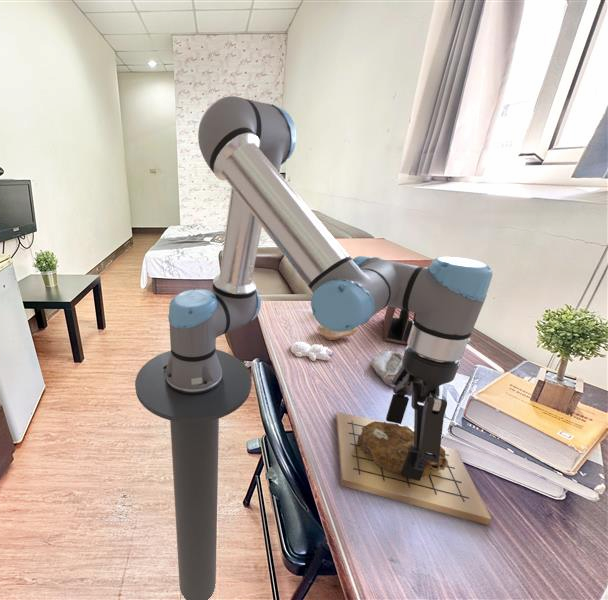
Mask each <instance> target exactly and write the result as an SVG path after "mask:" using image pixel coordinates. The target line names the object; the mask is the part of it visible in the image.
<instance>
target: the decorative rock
mask: <svg viewBox="0 0 608 600" xmlns="http://www.w3.org/2000/svg"><path fill="white" fill-rule="evenodd" d="M386 422H387V421H383V422H377V421H374V422H372V423H370V424H368V425H366V426H364V427H363V428H362V434H361V435H359V436H358V441H357V442H358V444H362V445H361V446H360V449H361V450H362V451H364V452H365V454H366V453H367V454H368V455H369V456H372V458H373V461H374V463H375V464H376V465H378V466H379V467H380V468H381V467H382V466H384V467H386V468H387V469H389V470H390V471H392V472H397V473H401V472H402V469H403V466H404V463H405V460H406V457H407V455H408V452H409V447H410V446H411V445H412V446H414V431H413V430H411V429H410V428H409V427H410V426H407V425H402V426H399V425H400V424H398V423H393V422H388V423H386ZM389 423H390V424H389ZM392 423H393V424H392ZM447 464H448V460H447V459H446V458H445V450H444V449H443V448H442V447H440V456H439V462H438V463H435V462H431V461H428V462H427V464H426V467H425V469H424V472H423V475H422V477H424V476H425V475H426V476H429V475H430V474H431V469H434V470H436V471H439V470H444V468H446V467H447ZM447 468H448V467H447Z"/></svg>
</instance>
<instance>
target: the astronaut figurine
mask: <svg viewBox="0 0 608 600" xmlns="http://www.w3.org/2000/svg"><path fill="white" fill-rule="evenodd" d="M290 351H291V353H292V354H294V355H295V356H296V357H298V358H302V357H308V358H309V360H311V361H312V362H315V361H316V359H317V360H321V361H330V359H331V356H330V355H332V352H333V351H332V350H331V349H330V348H329V347H327V346H323V344H316V343H315V344H313V345H310V344H309V343H307V342H306V341H297V342H294V343H292V345H291V347H290Z"/></svg>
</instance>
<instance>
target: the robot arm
mask: <svg viewBox="0 0 608 600" xmlns="http://www.w3.org/2000/svg"><path fill="white" fill-rule="evenodd" d="M296 128H297V127H296V125H295V122H294V120H293V118H292V116H291V115H290V114H289V113H288V111H286V110H285V109H283V108H281V107H278V106H277V105H275V104H270V103H265V102H262V101H261V102H260V101H256V100H251V99H247V98H244V97H240V96H235V95H233V96H231V95H230V96H224V97H222V98H219V99H217V100H215V101H213V102H212V104H210V105H209V106H208V107H207V108H206V110H205V111H204V113H203V115H202V116H201V119H200V122H199V125H198V131H197V139H198V146H199V147H198V148H199V150H200V153H201V155H202V158H203V159H204V161H205V163H206V164H207V166H208V168H209V169H210V171H211V172H212V173H213V175H214V176H215V177H216V178H217V179H218V180H221V181H226V182H227V183H228V184H229V186H230V187H231V188H230V196H229V203H228V211H227V217H226V224H225V225H226V226H225V232H224V241H223V246H222V247H223V248H222V255H221V262H220V270H219V274H218V275H216V276H215V277H214V278H213V280H212V287H211V290H208V289H204V288H203V289H202V288H196V289H189V290H185V291H182V292H179V293H178V294H176V295H175V296H173V298H172V299H171V300H170V302H169V305H168V316H167V317H168V319H167V320H168V323H169V340H170V342H169V343H170V351H171V355H170V358H169V361H168V364H167V365H166V366H164V367H163V368H164V369H166V371H165V380H166V383H167V385H168V386H169V387H170V388H171V389H172V390H174V391H175V392H178V393H181V394H185V395H200V394H205V393H208V392H210V391H212V390H214V389H215V388H217V387H218V386H219V384H220V383H221V381H222V369H221V365H220V363H219V360H218V357H217V354H216V349H217V338H218V337H221V336H224V335H225V334H227V333H230V332H232V331H234V330H236V329H239V328H241V327H244V326H246V325H248V324H249V323H250V322H252V321H255V319H256V318H257V316H258V315H259V314H260V311H261V306H262V299H261V297H260V296H259V295H260V294H259V291H258V289H257V284H256V283H255V280H254V279H253V276H254V271H255V266H256V260H257V255H258V250H259V244H260V240H261V233H262V229H263V230H264V231H265V232H266V234H267V235H268V237H269V238H270V239H271V240H272V242H273V243H274V244H275V245H276V247H277V248H278V249H279V251H280V252H281V253H282V255H283V256H284V257H285V258H286V259H287V261H288V262H289V264H290V265H291V266H292V267H293V269H294V270H295V271H296V273H297V274H298V275H299V277H300V278H301V279H302V281H303V282H304V283H305V285H306V286H307V287H308V288H309V290H310V291H311V292H312V295H311V298H310V307H311V310H312V311H311V312H312V315H313V318H314V319H315V320H316V321H317V323H318V324H319V325H322V326H323V327H325V328H327V329H329V330H332V331H335V332H345V331H349V330H351V329H354V328H356V329H357V328H358V327H359V326H363V325H365V324H366V323H367V322H369V321H370V319H371V318H373V317H374V316H375V315H377V314H378V313H380V311H383V310H384V309H385V308H387V307H388V306H391V307H395V308H396V309H399V310H401V309H402V310H406V311H409V312H412V313H414V314H415V313H416V316H415V320H414V322H413V325H412V328H411V331H410V334H409V338H408V341H407V342H408V345H406V347H405V350H404V353H403V360H402V366H401V368H400V369H399V371H398V373H397V374H396V376H395V377H394V379H393V380H392V385H395V387H392V392H393V393H392V397H391V400H390V404H389V407H388V411H387V413H386V417H385V422H388V423H393V424H398V425H402V422H403V419H404V416H405V413H406V411H407V407H408V405H409V401H410V398H409V397H411V404H410V405H411V408H412V409H413V410H414V416H413V417H414V418H413V420H414V421H413V423H414V424H413V428H414V446H412V445H411V446H410V447H409V452H408V455H407V457H406V460H405V463H404V466H403V469H402V472H401V474H402V477H406V478H410V479H414V480H418V481H420V480H421V477H422V475H423V472H424V469H425V467H426V464H427V462H428V461H431V462H435V463H438V462H439V456H440V447H441V438H442V434H443V427H444V419H445V413H446V410H447V407H448V400H447V399H443V398H439V397H440V387H441V386H442V385H445V384H449V383H452V382H453V381H454V380H455V377H456V375H457V372H458V370H459V368H460V364H461V361H460V360H461V359H462V358H463V355H464V353H465V350H466V348H467V345H468V344H470V343H471V342H472V340H471V338H470V337H471V335H472V333H473V330H474V328H475V325H476V323H477V320H478V318H479V315H480V313H481V311H482V308H483V306H484V304H485V301H486V298H487V294H488V291H489V287H490V284H491V281H492V278H493V270H492V268H491V267H490V266H489V265H487V264H485V263H483V262H481V261H479V260H475V259H470V258H464V257H452V256H440V257H436V258H434V259H433V260H432V261H431V262H430V265H429V266H428V267H427V266H419V265H418V266H417V265H413V264H408V263H402V262H398V261H392V260H388V259H382V258H380V257H377V256H372V257H371V256H363V255H359V256H356V257H354V258H351V257H350V255H349V254H348V253H347V252H346V250H345V249H344V248H343V247H342V246H341V244H340V243H339V242H338V241H337V240H336V238H335V237H334V236H333V235H332V234H331V232H330V231H329V230H328V229H327V227H325V225H324V224H323V223H322V221H321V220H320V219H319V218H318V217H317V215H315V213H314V212H313V211H312V210H311V209H310V207H309V206H308V205H307V204H306V202H305V201H304V200H303V199H302V198H301V197H300V195H299V194H298V193H297V192H296V191H295V189H294V188H293V187H292V185H290V184H289V182H288V181H287V180H286V178H285V177H283V175H282V174H281V173H280V170H281V166H282V165H284V164H285V163H286V162H287V160H288V159H290V158H291V156H292V155H293V152H294V151H295V148H296V142H297V129H296ZM419 403H420V404H419ZM422 404H423V405H422Z"/></svg>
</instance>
